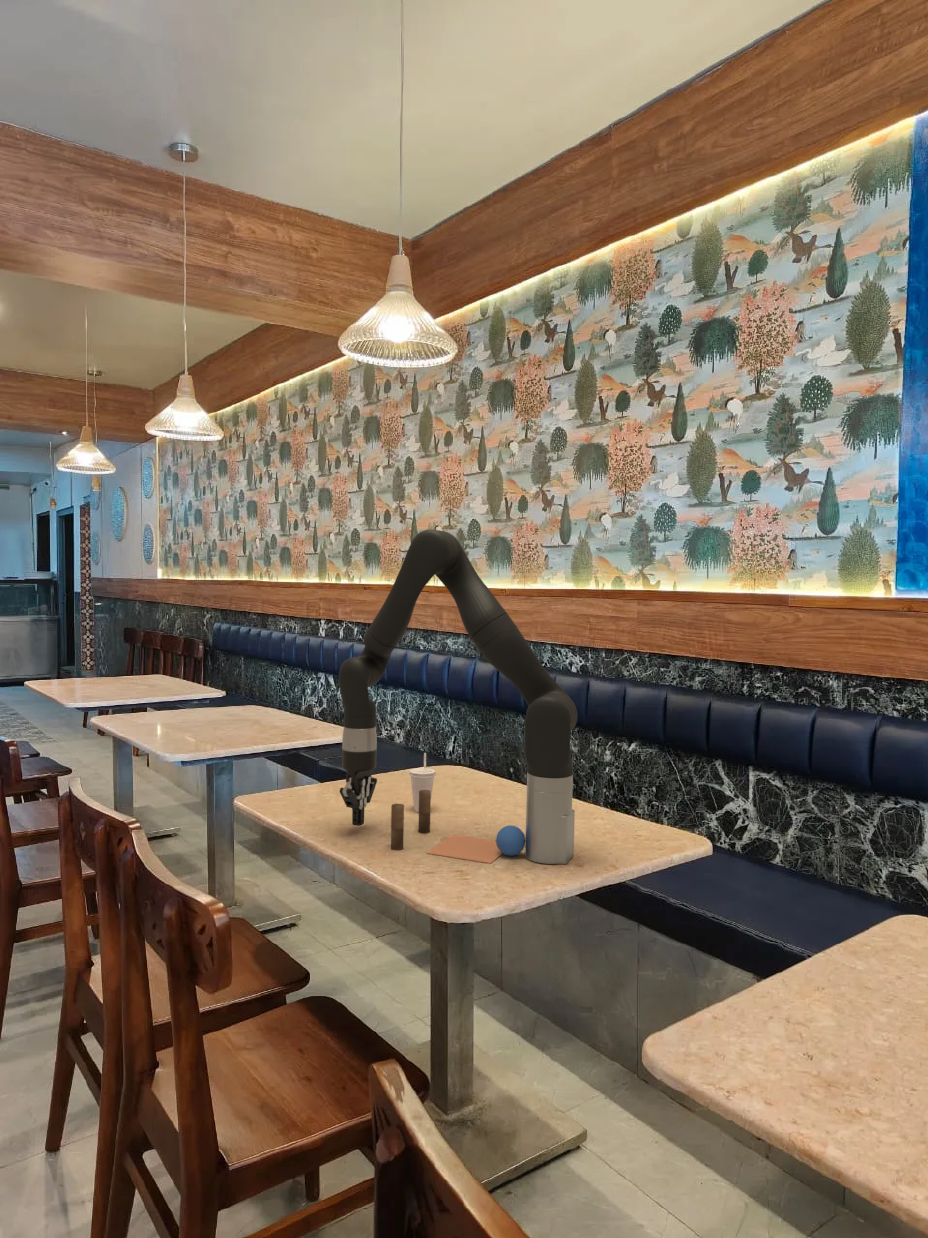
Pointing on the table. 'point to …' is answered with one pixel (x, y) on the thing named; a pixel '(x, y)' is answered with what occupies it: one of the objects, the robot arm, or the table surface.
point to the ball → (510, 840)
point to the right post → (424, 811)
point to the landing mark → (468, 849)
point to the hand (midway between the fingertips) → (358, 824)
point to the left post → (397, 826)
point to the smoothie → (421, 782)
